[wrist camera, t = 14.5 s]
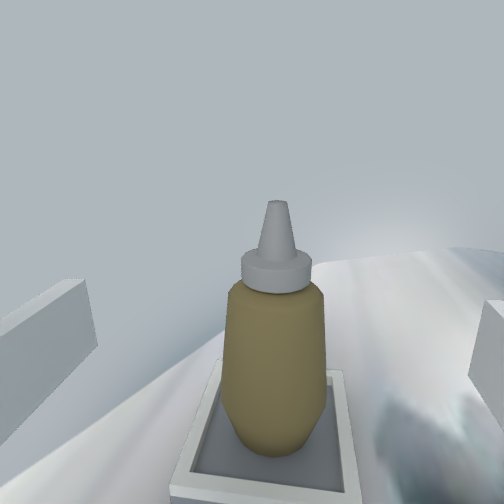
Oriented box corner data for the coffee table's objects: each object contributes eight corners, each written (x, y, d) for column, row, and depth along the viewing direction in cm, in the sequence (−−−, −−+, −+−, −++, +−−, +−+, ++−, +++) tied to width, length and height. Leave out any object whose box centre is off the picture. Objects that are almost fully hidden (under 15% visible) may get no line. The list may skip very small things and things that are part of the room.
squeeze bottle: (317, 393, 31) (333, 192, 25) (331, 477, 24) (358, 218, 18) (228, 389, 32) (222, 191, 26) (213, 470, 24) (200, 215, 18)
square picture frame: (340, 389, 33) (342, 370, 33) (360, 537, 21) (364, 512, 21) (218, 377, 35) (217, 359, 34) (171, 508, 23) (169, 484, 22)
